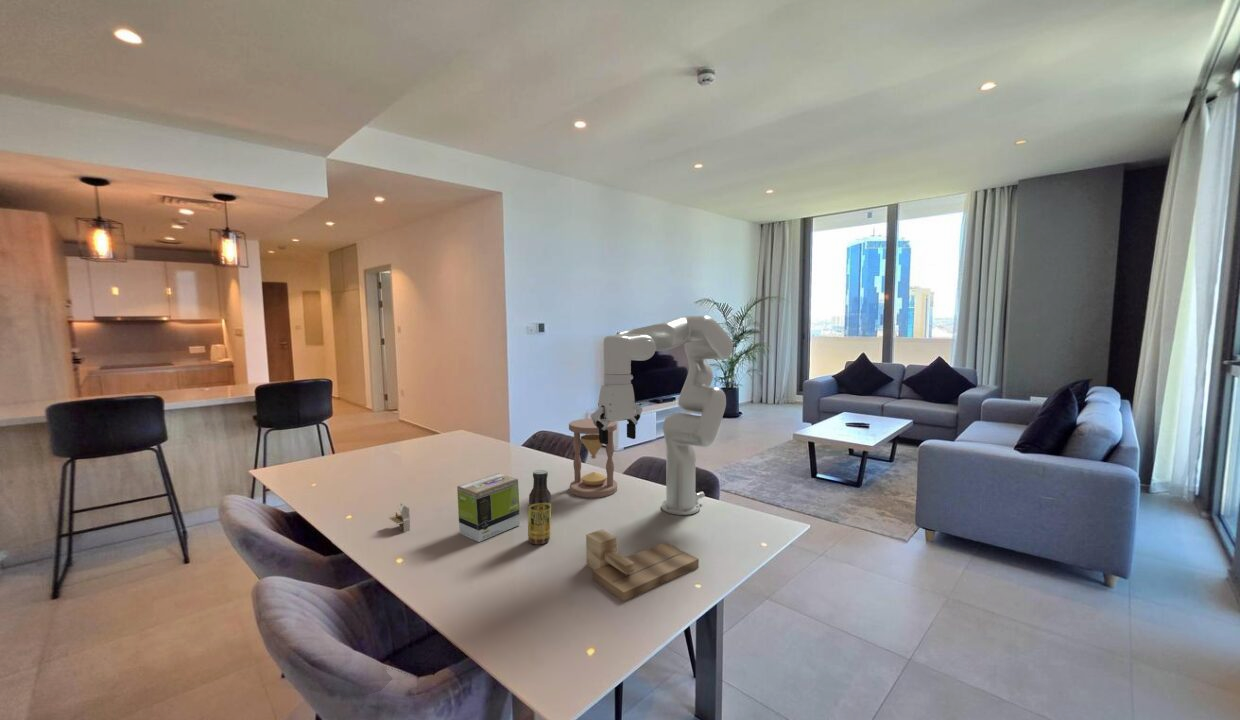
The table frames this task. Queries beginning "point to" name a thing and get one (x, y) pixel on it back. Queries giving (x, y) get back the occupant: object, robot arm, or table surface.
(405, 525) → the architectural model
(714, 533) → the table surface
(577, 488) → the hourglass
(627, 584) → the board
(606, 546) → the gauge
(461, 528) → the tea box
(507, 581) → the table surface
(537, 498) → the sauce bottle
